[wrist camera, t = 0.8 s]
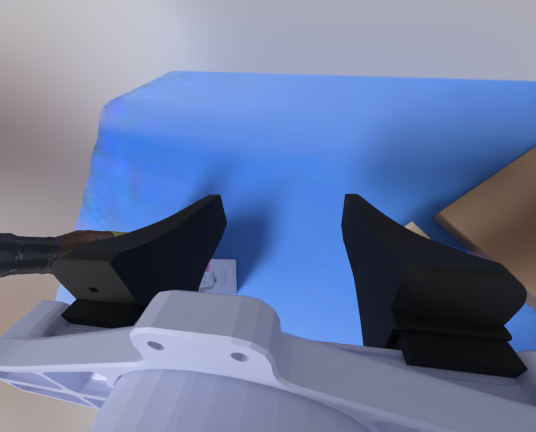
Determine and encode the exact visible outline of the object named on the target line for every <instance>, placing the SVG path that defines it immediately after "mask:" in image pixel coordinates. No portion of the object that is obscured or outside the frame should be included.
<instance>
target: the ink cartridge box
mask: <svg viewBox="0 0 536 432" xmlns="http://www.w3.org/2000/svg"><path fill="white" fill-rule="evenodd" d="M198 292H206V293H219V294H231V295H232V294H236V293H237V277H236V260H234V259H211V260H210V262H209V264H208V266H207V268H206V271H205V273H204V276H203V279H202V281H201V284H200V287H199V290H198Z"/></svg>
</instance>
